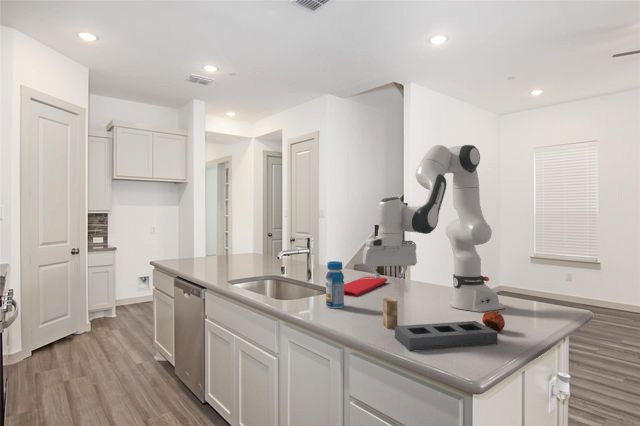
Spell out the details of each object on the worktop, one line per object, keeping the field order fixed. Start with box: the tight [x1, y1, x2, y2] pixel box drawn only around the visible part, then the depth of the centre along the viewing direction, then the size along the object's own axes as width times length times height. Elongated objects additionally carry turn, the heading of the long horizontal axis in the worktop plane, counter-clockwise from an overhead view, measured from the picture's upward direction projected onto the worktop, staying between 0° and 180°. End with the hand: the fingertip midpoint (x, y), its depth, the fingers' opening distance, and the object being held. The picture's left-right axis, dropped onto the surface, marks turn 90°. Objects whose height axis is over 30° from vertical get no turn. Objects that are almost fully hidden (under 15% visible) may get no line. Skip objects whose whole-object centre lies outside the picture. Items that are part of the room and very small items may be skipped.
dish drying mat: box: [344, 276, 388, 298], centre depth 204 cm, size 16×41×4 cm, turn 147°
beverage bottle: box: [325, 261, 345, 309], centre depth 165 cm, size 8×8×20 cm
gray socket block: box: [394, 320, 499, 352], centre depth 120 cm, size 30×12×4 cm, turn 100°
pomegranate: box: [481, 310, 506, 333], centre depth 130 cm, size 7×7×10 cm
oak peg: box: [382, 297, 398, 329], centre depth 136 cm, size 4×4×10 cm
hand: (389, 277), depth 136 cm, fingers open, 8 cm apart
